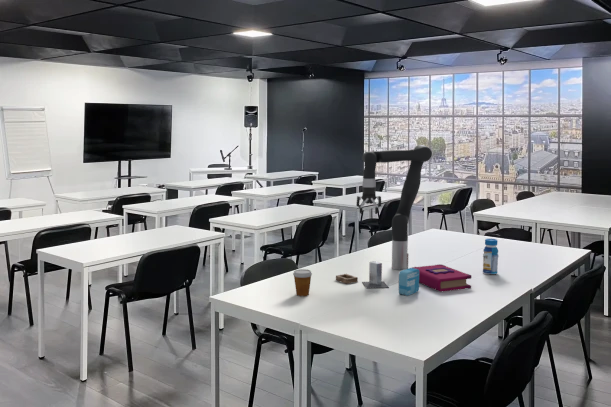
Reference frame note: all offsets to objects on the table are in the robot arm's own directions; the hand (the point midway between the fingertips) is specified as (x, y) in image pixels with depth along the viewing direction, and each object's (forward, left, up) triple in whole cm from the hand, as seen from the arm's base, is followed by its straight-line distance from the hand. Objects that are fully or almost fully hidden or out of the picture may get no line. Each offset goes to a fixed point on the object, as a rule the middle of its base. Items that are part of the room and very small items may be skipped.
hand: (368, 213), depth 324 cm
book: (-33, +30, -35) cm, 57 cm away
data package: (-12, +47, -34) cm, 59 cm away
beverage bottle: (-69, +12, -34) cm, 78 cm away
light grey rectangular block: (+2, +31, -34) cm, 46 cm away
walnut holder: (+16, +21, -34) cm, 43 cm away
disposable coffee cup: (+42, +45, -34) cm, 70 cm away
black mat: (+2, +31, -34) cm, 46 cm away
